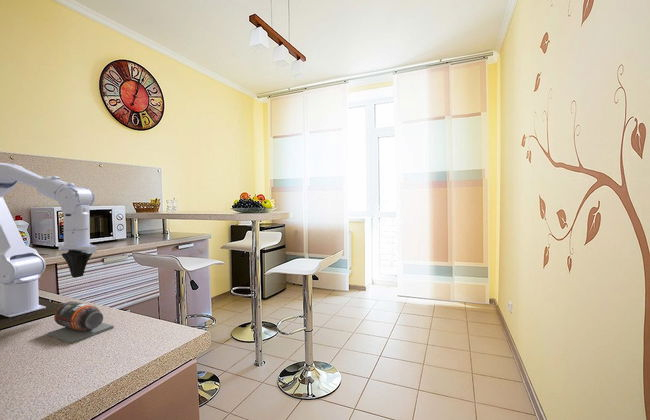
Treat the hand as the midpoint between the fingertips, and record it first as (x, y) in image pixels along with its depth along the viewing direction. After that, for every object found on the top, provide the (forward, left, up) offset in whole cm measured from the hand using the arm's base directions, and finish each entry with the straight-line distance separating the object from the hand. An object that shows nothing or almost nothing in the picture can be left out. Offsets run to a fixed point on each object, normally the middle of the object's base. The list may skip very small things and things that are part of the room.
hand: (77, 276), depth 85 cm
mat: (+15, -7, -10) cm, 20 cm away
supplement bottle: (+9, -7, -7) cm, 13 cm away
